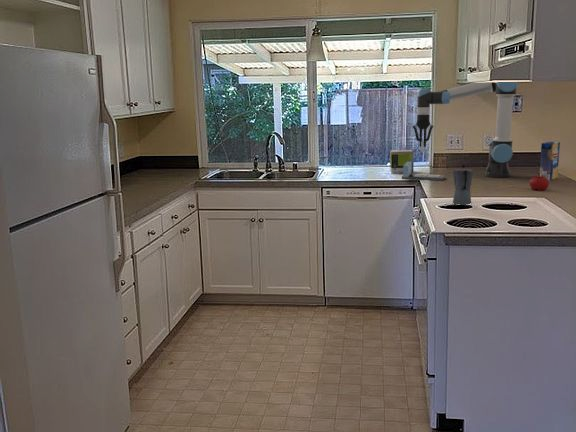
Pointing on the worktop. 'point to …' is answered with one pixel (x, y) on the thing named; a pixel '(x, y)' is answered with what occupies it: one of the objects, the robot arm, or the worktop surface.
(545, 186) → the pomegranate
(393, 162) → the tea box
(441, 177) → the plate
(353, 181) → the worktop surface
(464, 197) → the moka pot
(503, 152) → the robot arm
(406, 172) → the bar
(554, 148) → the beverage box
